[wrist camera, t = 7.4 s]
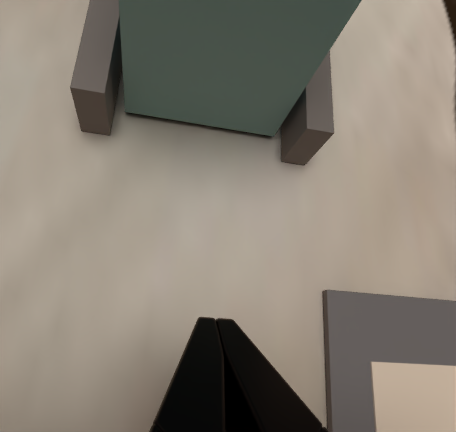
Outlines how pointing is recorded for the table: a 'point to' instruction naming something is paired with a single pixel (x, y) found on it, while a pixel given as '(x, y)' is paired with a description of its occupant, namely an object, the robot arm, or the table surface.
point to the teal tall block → (225, 57)
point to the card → (389, 363)
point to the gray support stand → (110, 76)
